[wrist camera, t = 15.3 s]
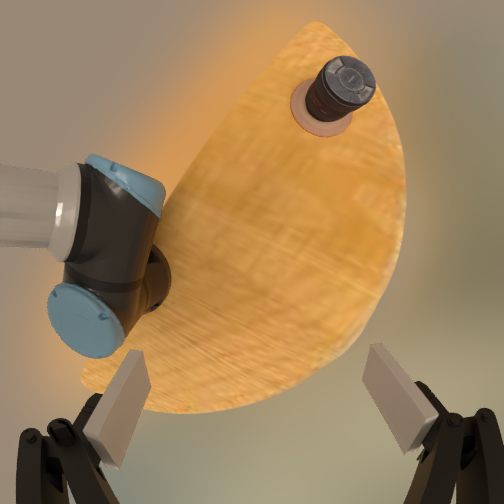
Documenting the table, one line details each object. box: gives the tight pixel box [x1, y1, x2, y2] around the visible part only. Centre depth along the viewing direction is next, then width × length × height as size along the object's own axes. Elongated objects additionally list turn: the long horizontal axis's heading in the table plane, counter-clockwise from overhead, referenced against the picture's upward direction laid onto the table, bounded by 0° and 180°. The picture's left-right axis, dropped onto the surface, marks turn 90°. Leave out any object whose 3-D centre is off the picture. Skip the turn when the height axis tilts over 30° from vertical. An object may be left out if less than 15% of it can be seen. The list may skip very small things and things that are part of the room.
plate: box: [291, 78, 352, 137], centre depth 44 cm, size 12×12×1 cm
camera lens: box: [305, 56, 376, 122], centre depth 36 cm, size 8×8×15 cm
